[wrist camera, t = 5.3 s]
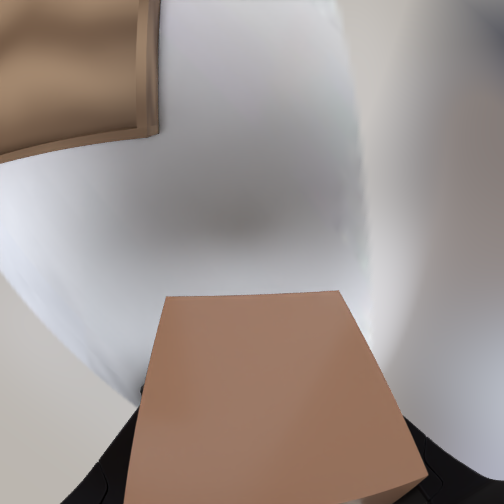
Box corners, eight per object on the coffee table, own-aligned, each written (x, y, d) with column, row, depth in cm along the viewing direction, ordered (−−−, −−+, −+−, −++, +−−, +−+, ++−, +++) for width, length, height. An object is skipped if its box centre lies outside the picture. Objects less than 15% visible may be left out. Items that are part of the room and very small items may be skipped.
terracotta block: (315, 393, 11) (351, 529, 6) (188, 400, 11) (181, 545, 5) (338, 290, 9) (428, 475, 3) (166, 296, 8) (123, 507, 3)
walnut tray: (158, 133, 15) (147, 137, 13) (-25, 168, 14) (-46, 177, 12) (169, -80, 8) (163, -99, 6) (-16, -10, 7) (-35, -15, 5)
